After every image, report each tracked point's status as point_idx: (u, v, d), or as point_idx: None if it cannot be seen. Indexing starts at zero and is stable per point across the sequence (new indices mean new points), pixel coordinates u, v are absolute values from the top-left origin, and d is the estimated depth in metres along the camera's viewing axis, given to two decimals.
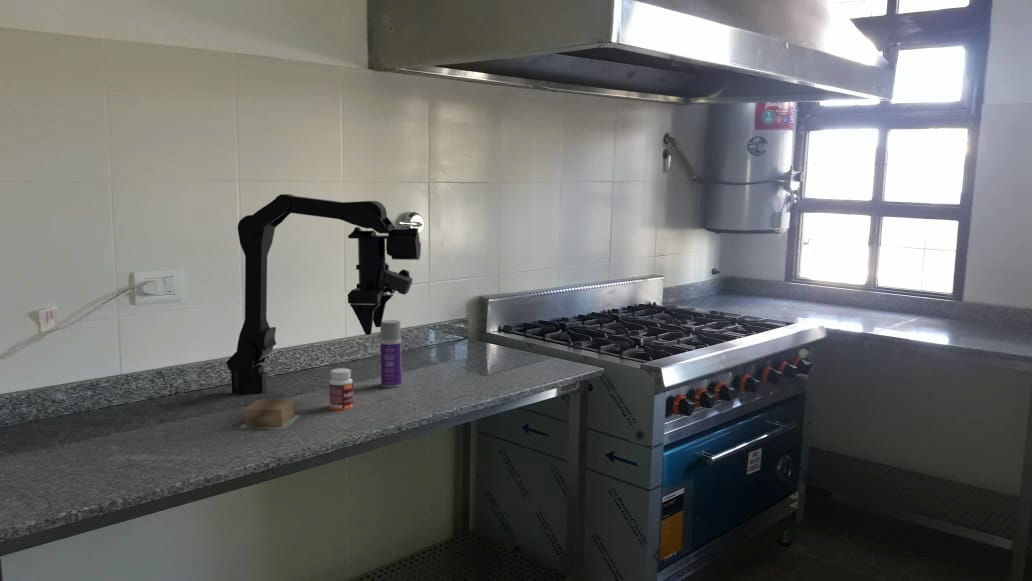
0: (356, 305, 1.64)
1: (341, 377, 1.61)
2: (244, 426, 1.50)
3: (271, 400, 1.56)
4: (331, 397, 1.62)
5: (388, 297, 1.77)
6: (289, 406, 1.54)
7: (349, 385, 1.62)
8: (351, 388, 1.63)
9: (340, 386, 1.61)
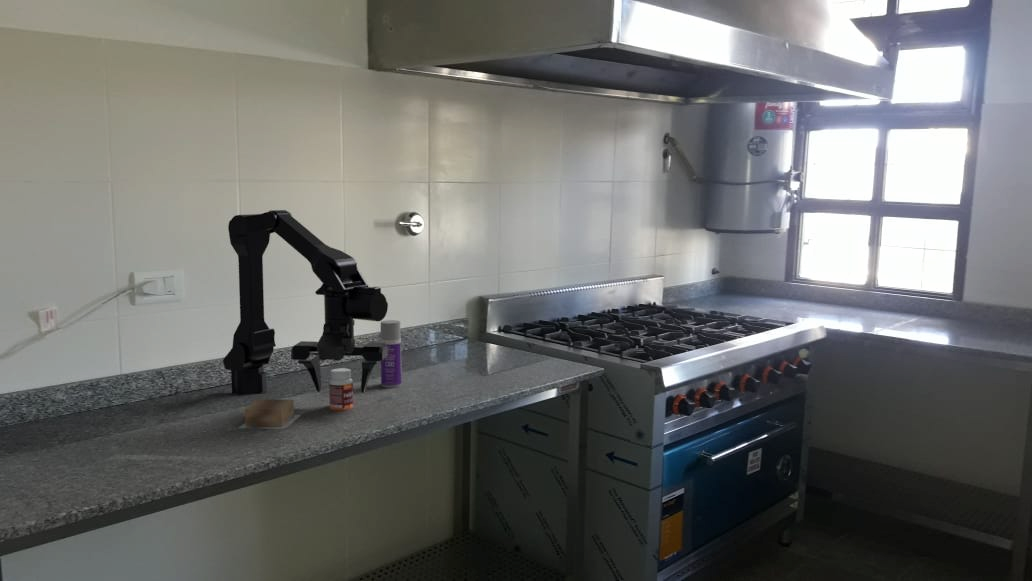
0: None
1: (341, 377, 1.61)
2: (244, 426, 1.50)
3: (271, 400, 1.56)
4: (331, 397, 1.62)
5: None
6: (289, 406, 1.54)
7: (349, 385, 1.62)
8: (351, 388, 1.63)
9: (340, 386, 1.61)
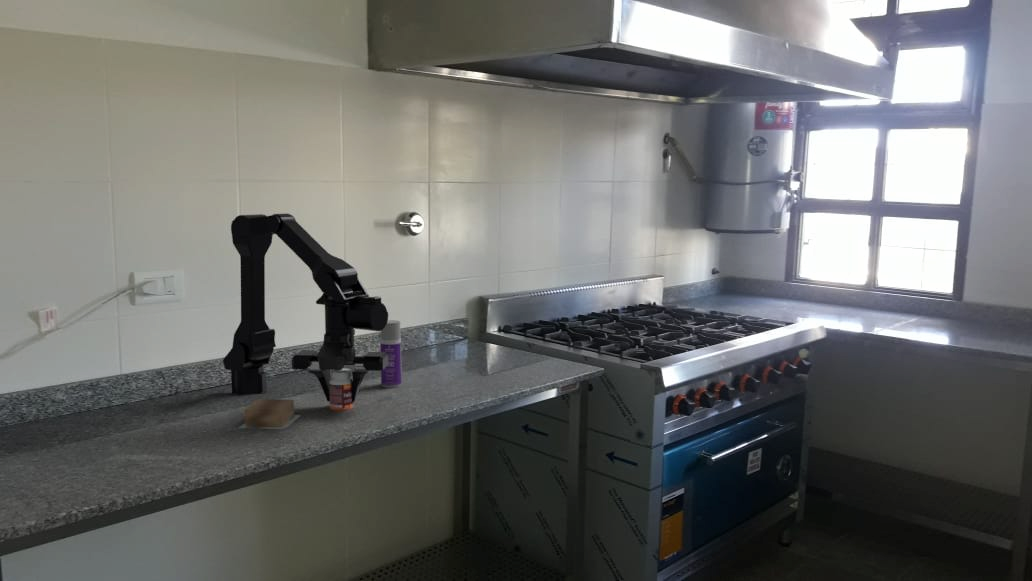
0: None
1: (341, 377, 1.61)
2: (244, 426, 1.50)
3: (271, 400, 1.56)
4: (331, 397, 1.62)
5: None
6: (289, 406, 1.54)
7: (349, 385, 1.62)
8: (351, 388, 1.63)
9: (340, 386, 1.61)
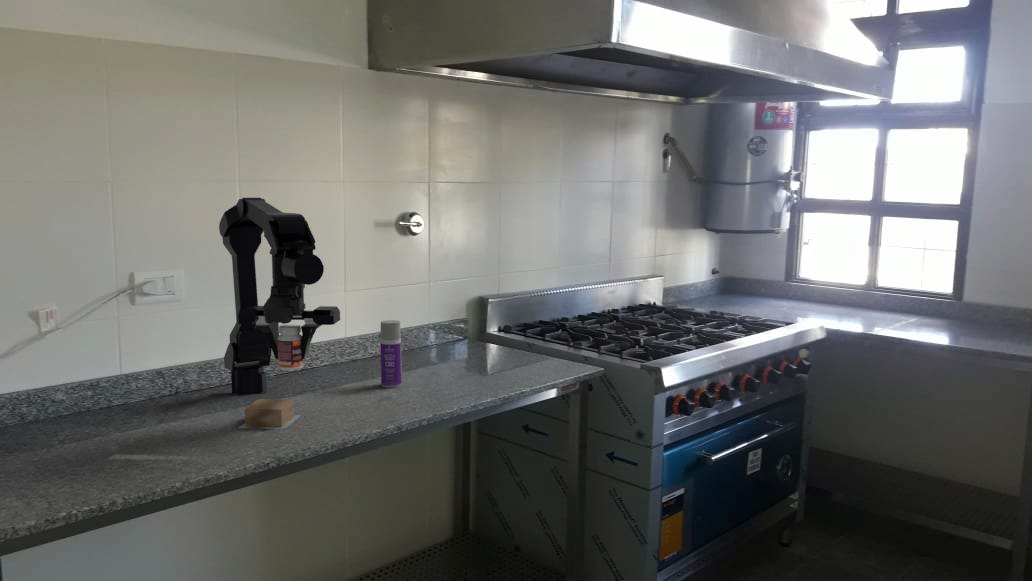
0: None
1: (290, 332, 1.52)
2: (244, 426, 1.50)
3: (271, 400, 1.56)
4: (279, 354, 1.53)
5: None
6: (289, 406, 1.54)
7: (299, 341, 1.53)
8: (301, 344, 1.54)
9: (288, 342, 1.52)
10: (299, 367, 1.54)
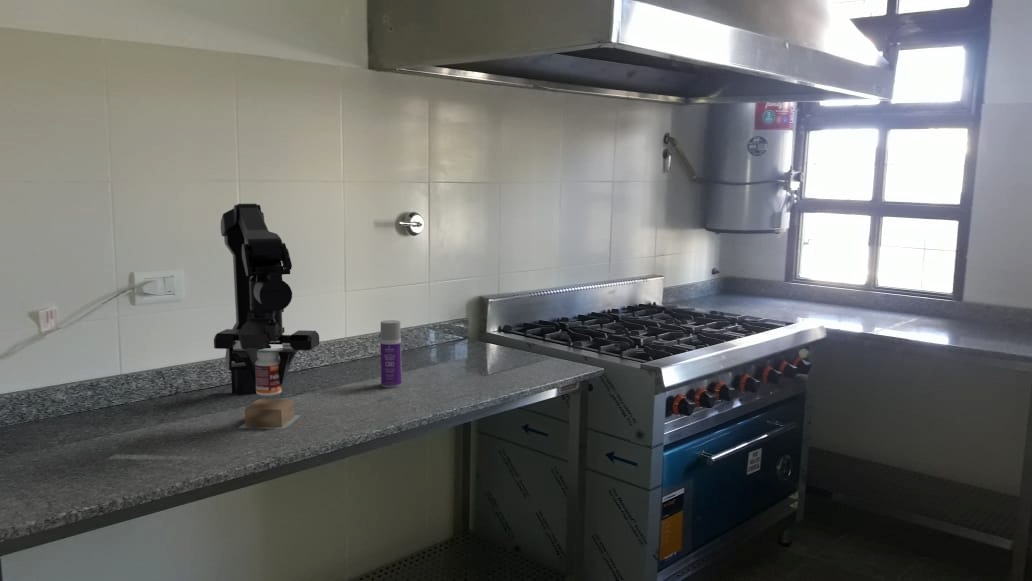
0: None
1: (268, 357, 1.50)
2: (244, 426, 1.50)
3: (271, 400, 1.56)
4: (257, 379, 1.51)
5: None
6: (289, 406, 1.54)
7: (276, 366, 1.51)
8: (279, 369, 1.52)
9: (266, 367, 1.50)
10: (277, 392, 1.52)
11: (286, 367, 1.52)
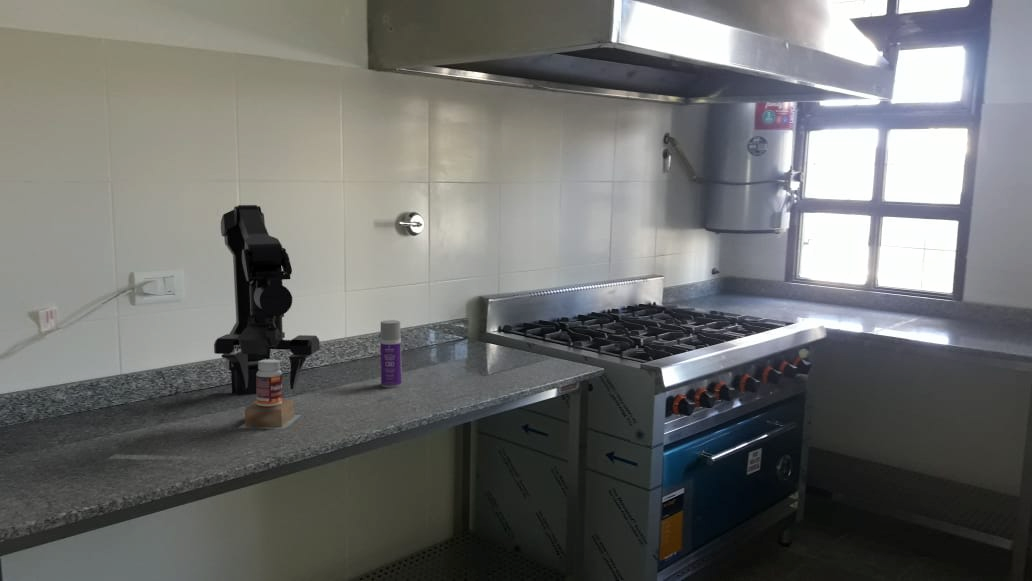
0: None
1: (269, 368, 1.50)
2: (244, 426, 1.50)
3: None
4: (257, 390, 1.51)
5: None
6: (289, 406, 1.54)
7: (277, 377, 1.51)
8: (280, 381, 1.52)
9: (267, 378, 1.50)
10: (277, 403, 1.52)
11: (297, 372, 1.52)
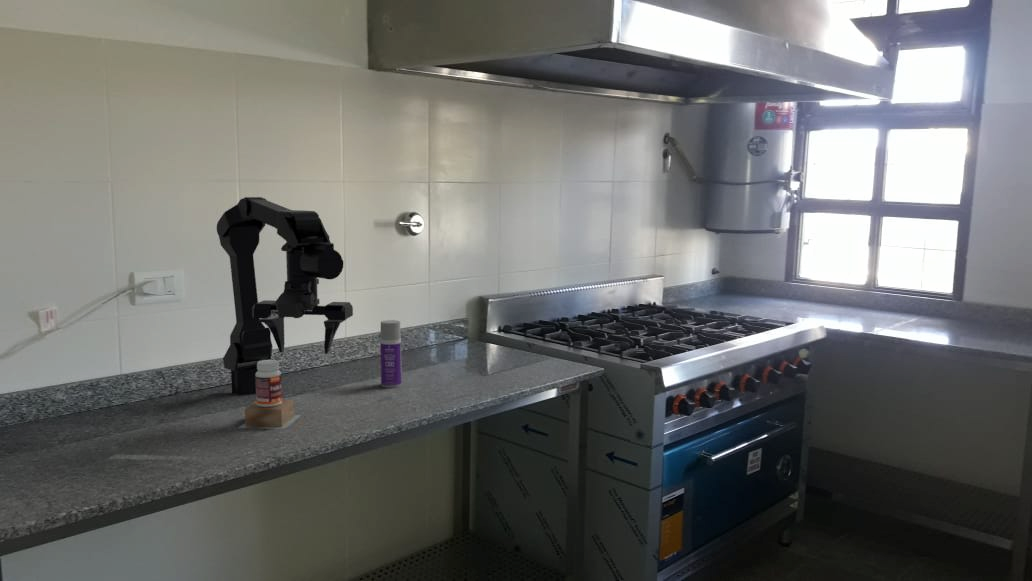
0: None
1: (268, 368, 1.50)
2: (244, 426, 1.50)
3: None
4: (257, 390, 1.51)
5: None
6: (289, 406, 1.54)
7: (277, 377, 1.51)
8: (279, 381, 1.52)
9: (266, 379, 1.50)
10: (277, 403, 1.52)
11: (331, 337, 1.57)
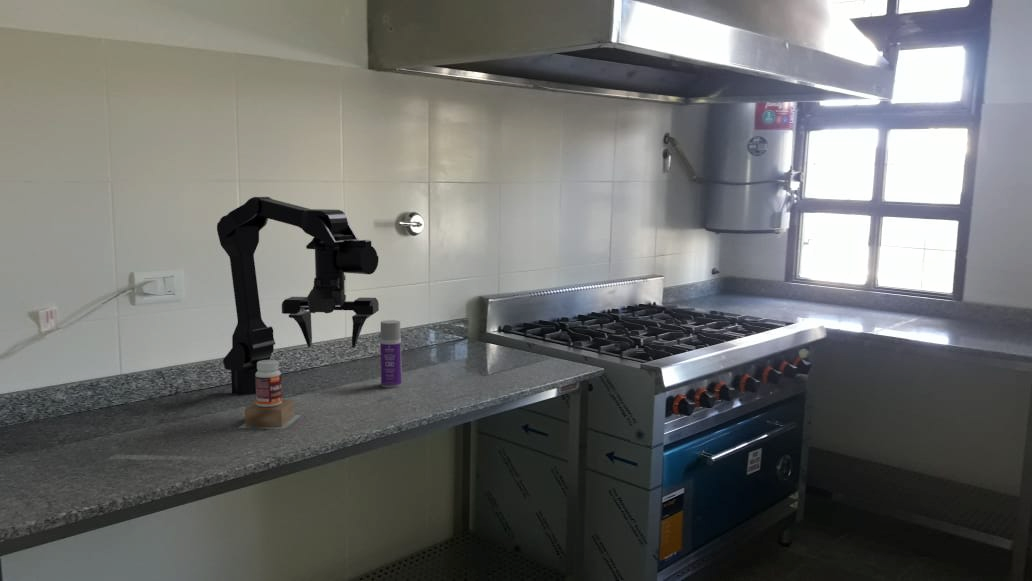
0: None
1: (268, 368, 1.50)
2: (244, 426, 1.50)
3: None
4: (257, 390, 1.51)
5: None
6: (289, 406, 1.54)
7: (277, 377, 1.51)
8: (279, 381, 1.52)
9: (266, 379, 1.50)
10: (277, 403, 1.52)
11: (358, 331, 1.62)
